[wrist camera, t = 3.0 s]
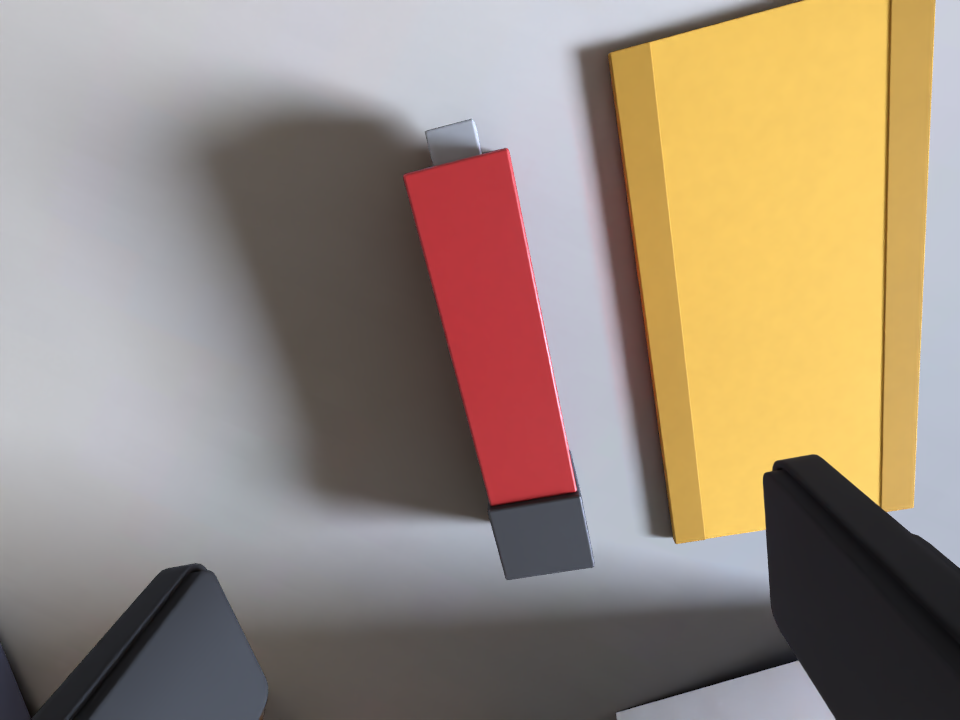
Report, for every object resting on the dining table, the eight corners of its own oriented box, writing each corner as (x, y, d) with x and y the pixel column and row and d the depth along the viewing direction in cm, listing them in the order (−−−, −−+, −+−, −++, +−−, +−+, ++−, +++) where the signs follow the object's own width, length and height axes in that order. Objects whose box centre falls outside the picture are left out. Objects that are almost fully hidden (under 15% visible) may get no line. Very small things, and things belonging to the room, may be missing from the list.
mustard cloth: (928, -33, 14) (937, -37, 14) (907, 502, 20) (914, 508, 20) (607, 54, 15) (609, 52, 15) (673, 539, 21) (675, 544, 21)
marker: (504, 118, 16) (504, 104, 13) (582, 512, 21) (595, 568, 18) (408, 144, 17) (385, 136, 14) (506, 524, 21) (505, 581, 18)
